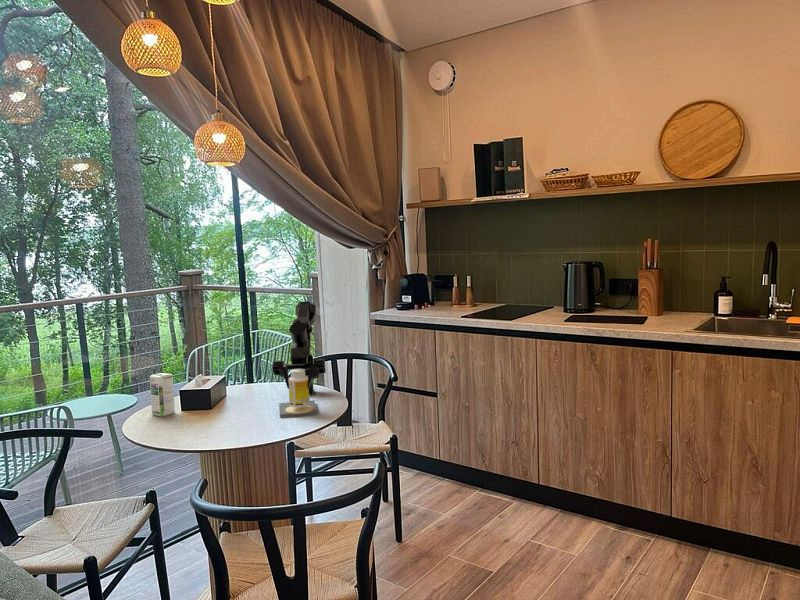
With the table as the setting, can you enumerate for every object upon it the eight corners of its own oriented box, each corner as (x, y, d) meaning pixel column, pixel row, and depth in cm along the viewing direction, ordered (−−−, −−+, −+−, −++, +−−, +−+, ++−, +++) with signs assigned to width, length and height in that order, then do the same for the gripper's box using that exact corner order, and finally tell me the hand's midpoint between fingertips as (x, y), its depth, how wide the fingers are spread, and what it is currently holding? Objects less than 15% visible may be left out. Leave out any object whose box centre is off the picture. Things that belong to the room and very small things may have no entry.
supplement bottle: (313, 403, 209) (311, 368, 208) (301, 409, 203) (299, 373, 202) (297, 401, 213) (296, 367, 211) (285, 406, 206) (283, 371, 205)
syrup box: (151, 415, 210) (148, 375, 208) (164, 410, 215) (162, 372, 213) (162, 417, 207) (159, 377, 205) (175, 412, 212) (173, 373, 211)
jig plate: (279, 406, 217) (279, 402, 216) (314, 403, 219) (314, 399, 219) (279, 418, 202) (279, 414, 201) (317, 415, 204) (317, 411, 204)
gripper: (271, 339, 208) (268, 376, 199) (323, 337, 210) (322, 374, 200) (275, 356, 217) (272, 393, 208) (326, 354, 218) (325, 390, 209)
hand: (298, 387), depth 206 cm, fingers closed on supplement bottle, 7 cm apart
